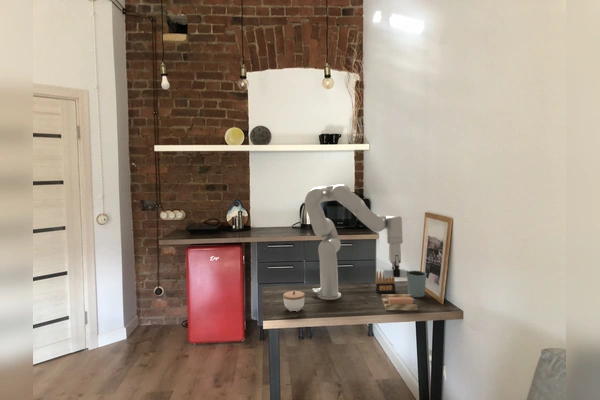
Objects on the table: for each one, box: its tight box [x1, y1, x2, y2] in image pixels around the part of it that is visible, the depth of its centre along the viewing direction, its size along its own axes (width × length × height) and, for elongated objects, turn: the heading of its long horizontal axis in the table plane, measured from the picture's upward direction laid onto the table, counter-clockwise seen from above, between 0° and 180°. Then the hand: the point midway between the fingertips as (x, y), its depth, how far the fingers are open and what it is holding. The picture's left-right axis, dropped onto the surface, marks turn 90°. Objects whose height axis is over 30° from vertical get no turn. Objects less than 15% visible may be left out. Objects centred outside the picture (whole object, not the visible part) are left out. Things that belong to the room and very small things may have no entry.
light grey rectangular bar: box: [383, 267, 410, 279], centre depth 192 cm, size 12×4×4 cm, turn 83°
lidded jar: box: [282, 290, 306, 312], centre depth 186 cm, size 11×11×9 cm
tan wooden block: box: [389, 296, 416, 304], centre depth 184 cm, size 12×4×4 cm, turn 85°
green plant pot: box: [406, 270, 427, 298], centre depth 203 cm, size 10×10×12 cm
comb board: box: [381, 293, 419, 311], centre depth 189 cm, size 15×16×2 cm
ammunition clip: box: [375, 270, 396, 294], centre depth 209 cm, size 11×2×12 cm, turn 90°
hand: (396, 275), depth 192 cm, fingers closed on light grey rectangular bar, 3 cm apart
